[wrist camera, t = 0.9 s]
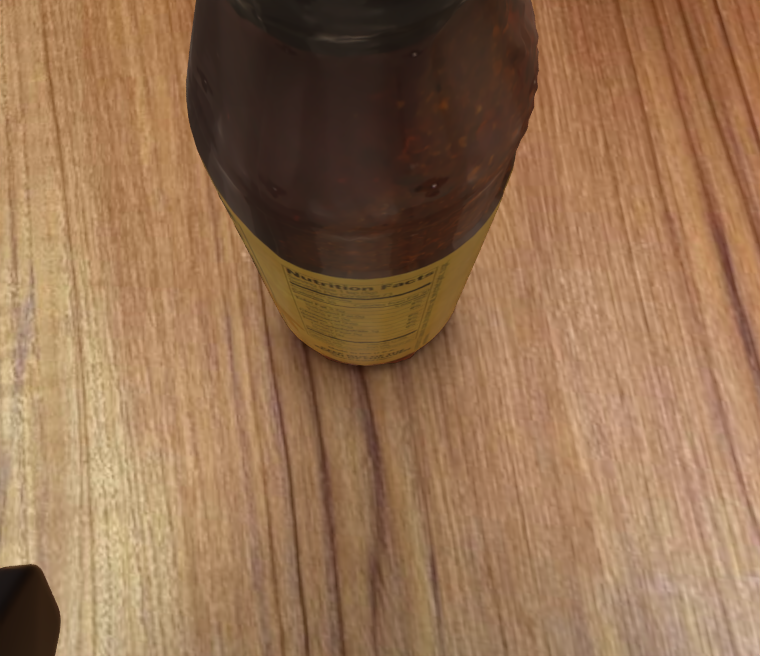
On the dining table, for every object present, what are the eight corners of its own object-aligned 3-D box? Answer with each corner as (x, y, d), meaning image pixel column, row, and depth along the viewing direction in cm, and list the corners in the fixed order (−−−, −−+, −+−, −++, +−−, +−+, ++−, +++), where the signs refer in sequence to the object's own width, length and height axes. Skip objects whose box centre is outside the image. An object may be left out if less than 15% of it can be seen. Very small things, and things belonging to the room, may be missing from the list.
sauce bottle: (322, 183, 25) (174, -963, 6) (482, 247, 24) (915, -788, 5) (242, 341, 23) (-361, -535, 4) (411, 414, 22) (663, -197, 3)
